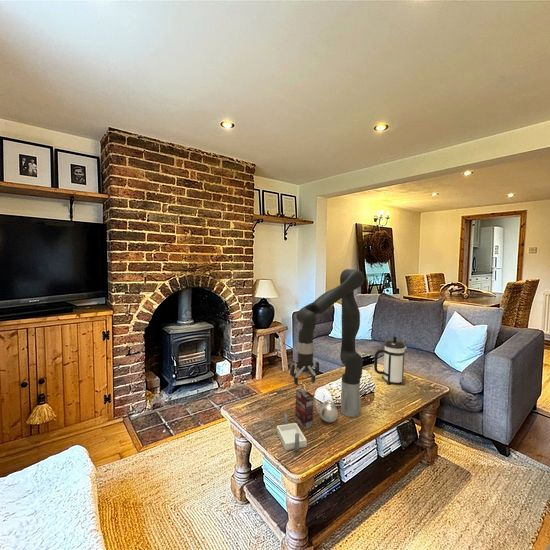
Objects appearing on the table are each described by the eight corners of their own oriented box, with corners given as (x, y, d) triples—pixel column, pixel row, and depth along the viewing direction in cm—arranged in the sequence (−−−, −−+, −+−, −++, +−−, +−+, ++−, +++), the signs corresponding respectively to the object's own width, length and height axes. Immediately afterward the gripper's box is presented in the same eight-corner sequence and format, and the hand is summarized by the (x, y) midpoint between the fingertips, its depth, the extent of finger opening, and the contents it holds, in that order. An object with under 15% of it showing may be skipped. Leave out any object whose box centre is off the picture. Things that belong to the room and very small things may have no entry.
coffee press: (387, 374, 208) (388, 331, 205) (409, 382, 196) (412, 337, 193) (372, 381, 197) (374, 336, 194) (396, 390, 185) (398, 342, 182)
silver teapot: (340, 418, 153) (340, 399, 152) (335, 428, 145) (335, 408, 144) (322, 413, 157) (323, 395, 156) (317, 423, 149) (317, 403, 148)
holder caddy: (294, 426, 146) (294, 412, 145) (308, 449, 129) (308, 433, 128) (275, 429, 143) (275, 415, 142) (286, 453, 126) (287, 437, 126)
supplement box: (294, 420, 151) (295, 389, 149) (302, 417, 153) (303, 387, 152) (305, 429, 143) (305, 397, 142) (313, 426, 146) (313, 394, 144)
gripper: (315, 347, 151) (314, 378, 152) (288, 349, 147) (288, 381, 148) (322, 352, 144) (321, 385, 145) (293, 354, 140) (293, 388, 141)
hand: (304, 383), depth 147 cm, fingers open, 8 cm apart
